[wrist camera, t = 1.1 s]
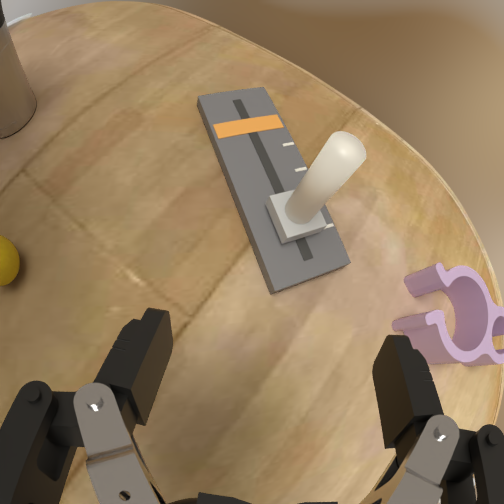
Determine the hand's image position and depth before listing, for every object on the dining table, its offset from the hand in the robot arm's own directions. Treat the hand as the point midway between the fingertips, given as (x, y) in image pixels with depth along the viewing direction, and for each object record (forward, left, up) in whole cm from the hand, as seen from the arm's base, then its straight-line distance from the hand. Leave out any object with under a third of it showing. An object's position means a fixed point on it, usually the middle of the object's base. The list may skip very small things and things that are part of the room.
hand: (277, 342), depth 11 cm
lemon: (-15, -22, -23) cm, 35 cm away
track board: (-17, +12, -23) cm, 31 cm away
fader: (-10, +12, -20) cm, 26 cm away
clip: (+11, +31, -23) cm, 40 cm away
